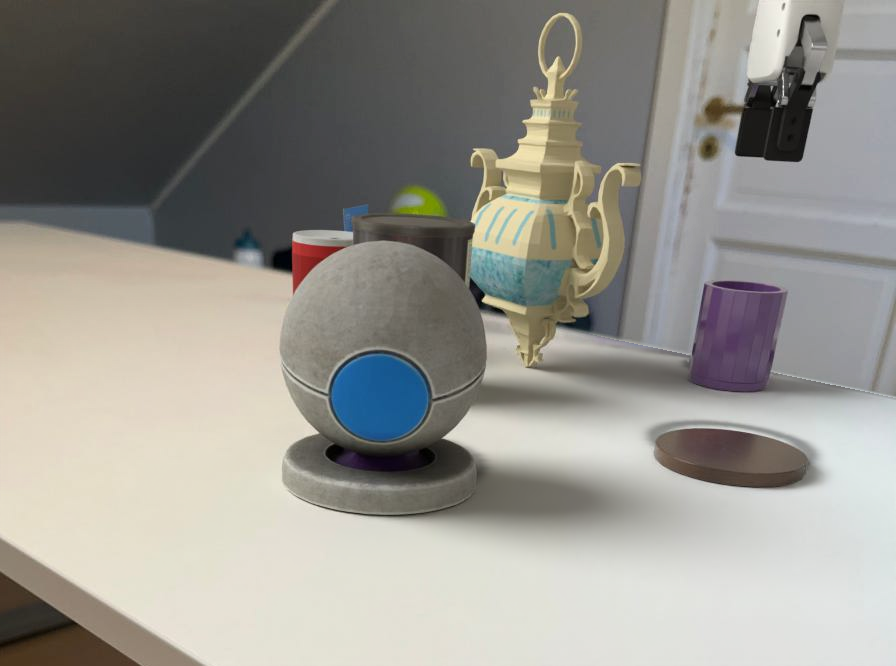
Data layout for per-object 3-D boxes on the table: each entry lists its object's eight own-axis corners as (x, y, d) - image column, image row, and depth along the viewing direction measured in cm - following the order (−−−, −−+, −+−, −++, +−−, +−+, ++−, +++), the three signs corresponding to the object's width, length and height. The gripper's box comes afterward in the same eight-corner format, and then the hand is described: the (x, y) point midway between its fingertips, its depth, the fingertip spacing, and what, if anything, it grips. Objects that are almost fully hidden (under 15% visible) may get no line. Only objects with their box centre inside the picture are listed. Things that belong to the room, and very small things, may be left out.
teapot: (651, 390, 91) (713, 11, 77) (552, 401, 86) (598, -3, 72) (508, 339, 109) (536, 24, 95) (419, 345, 104) (435, 13, 90)
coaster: (808, 454, 76) (811, 441, 75) (801, 497, 66) (805, 483, 66) (666, 432, 79) (668, 420, 78) (641, 471, 70) (643, 457, 69)
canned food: (341, 361, 96) (342, 241, 91) (277, 348, 99) (275, 232, 94) (383, 349, 102) (387, 235, 96) (322, 337, 105) (322, 228, 100)
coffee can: (434, 410, 81) (444, 229, 75) (327, 391, 85) (328, 217, 78) (481, 385, 90) (494, 220, 83) (382, 369, 93) (387, 210, 87)
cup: (770, 379, 98) (790, 285, 94) (763, 395, 92) (785, 295, 87) (693, 369, 100) (710, 277, 96) (682, 384, 94) (699, 287, 90)
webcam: (471, 456, 71) (488, 235, 64) (481, 520, 60) (504, 261, 53) (293, 448, 71) (290, 225, 64) (270, 511, 59) (263, 248, 52)
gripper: (901, -95, 71) (841, 165, 79) (823, -58, 86) (780, 157, 94) (798, -100, 71) (749, 160, 79) (738, -62, 86) (702, 153, 94)
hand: (766, 158), depth 87 cm, fingers open, 9 cm apart
